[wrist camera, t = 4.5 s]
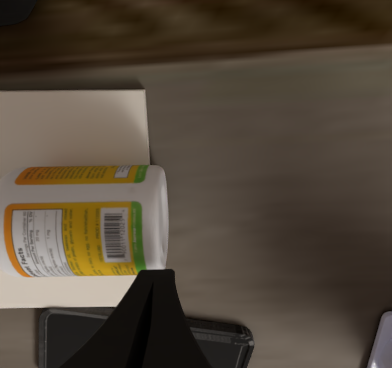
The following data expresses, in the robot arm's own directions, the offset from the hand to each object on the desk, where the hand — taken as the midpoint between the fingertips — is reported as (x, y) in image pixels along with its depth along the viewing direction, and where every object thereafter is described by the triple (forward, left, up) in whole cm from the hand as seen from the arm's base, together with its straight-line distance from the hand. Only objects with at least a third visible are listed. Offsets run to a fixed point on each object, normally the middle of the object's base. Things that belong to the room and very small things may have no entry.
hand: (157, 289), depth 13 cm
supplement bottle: (0, -1, -4) cm, 4 cm away
